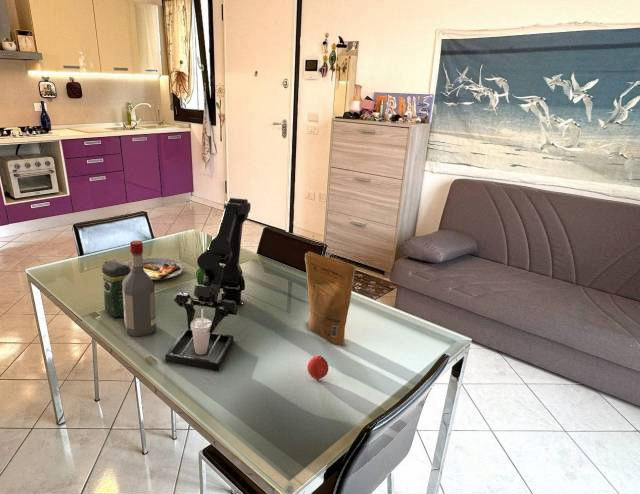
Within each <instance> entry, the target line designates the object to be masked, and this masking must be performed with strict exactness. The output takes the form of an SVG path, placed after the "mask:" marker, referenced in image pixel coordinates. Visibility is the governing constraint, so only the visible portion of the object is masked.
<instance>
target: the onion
mask: <svg viewBox="0 0 640 494" xmlns="http://www.w3.org/2000/svg"><path fill="white" fill-rule="evenodd" d="M306 369H307V373H308V374H309V376H311V378H313V379H314V380H317V381H318V380H320V379H323V378H324V377H326V376H327V375H328V373H329V364H328V361H327V360H326V358H324V357H323V356H322V355H321V354H317V355H315V356H313V357H312V358H310V359H309V361H308V363H307V365H306Z"/></svg>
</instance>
